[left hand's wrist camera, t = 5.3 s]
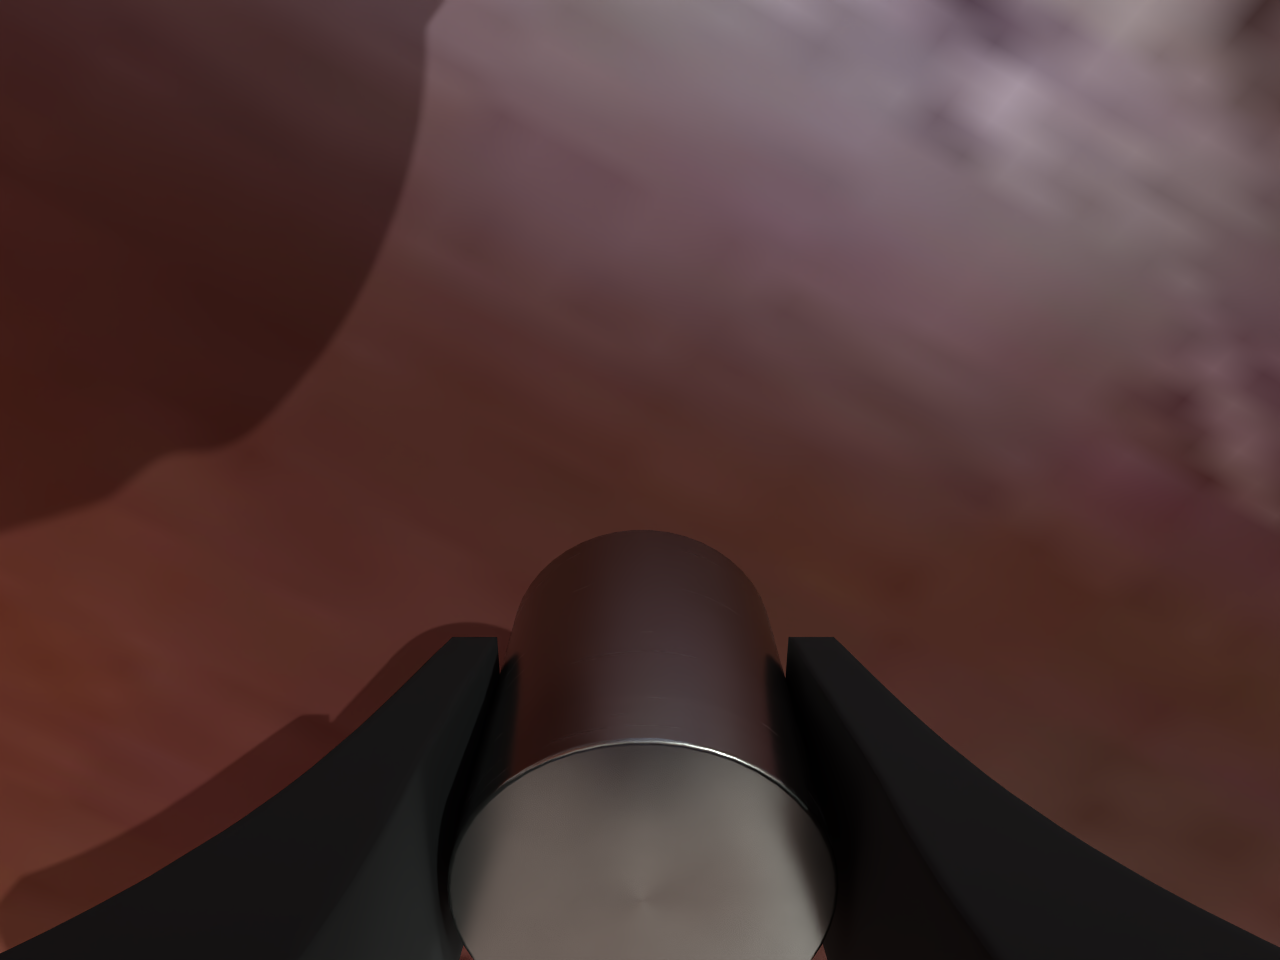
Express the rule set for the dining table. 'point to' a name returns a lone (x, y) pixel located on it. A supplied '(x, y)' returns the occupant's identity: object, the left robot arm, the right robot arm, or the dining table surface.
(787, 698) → the can
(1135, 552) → the dining table surface
